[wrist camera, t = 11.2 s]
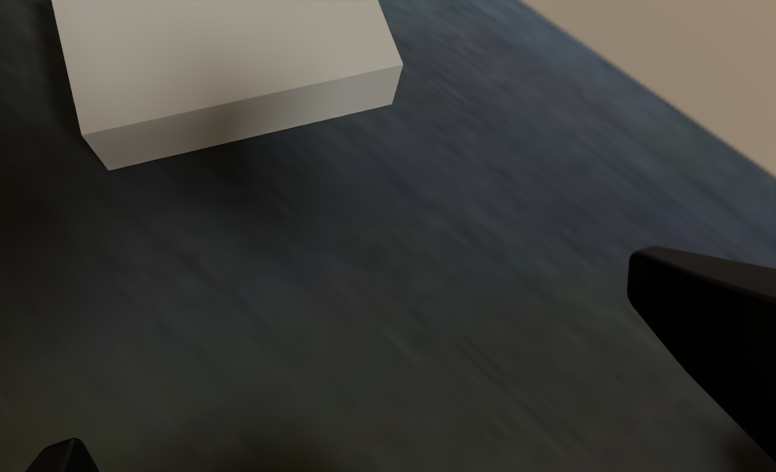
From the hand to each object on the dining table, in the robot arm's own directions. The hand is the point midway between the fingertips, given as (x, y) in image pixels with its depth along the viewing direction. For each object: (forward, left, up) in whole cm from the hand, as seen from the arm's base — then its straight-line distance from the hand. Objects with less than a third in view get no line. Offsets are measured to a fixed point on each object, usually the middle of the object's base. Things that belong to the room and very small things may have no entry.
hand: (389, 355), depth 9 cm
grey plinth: (+7, +12, -13) cm, 19 cm away
